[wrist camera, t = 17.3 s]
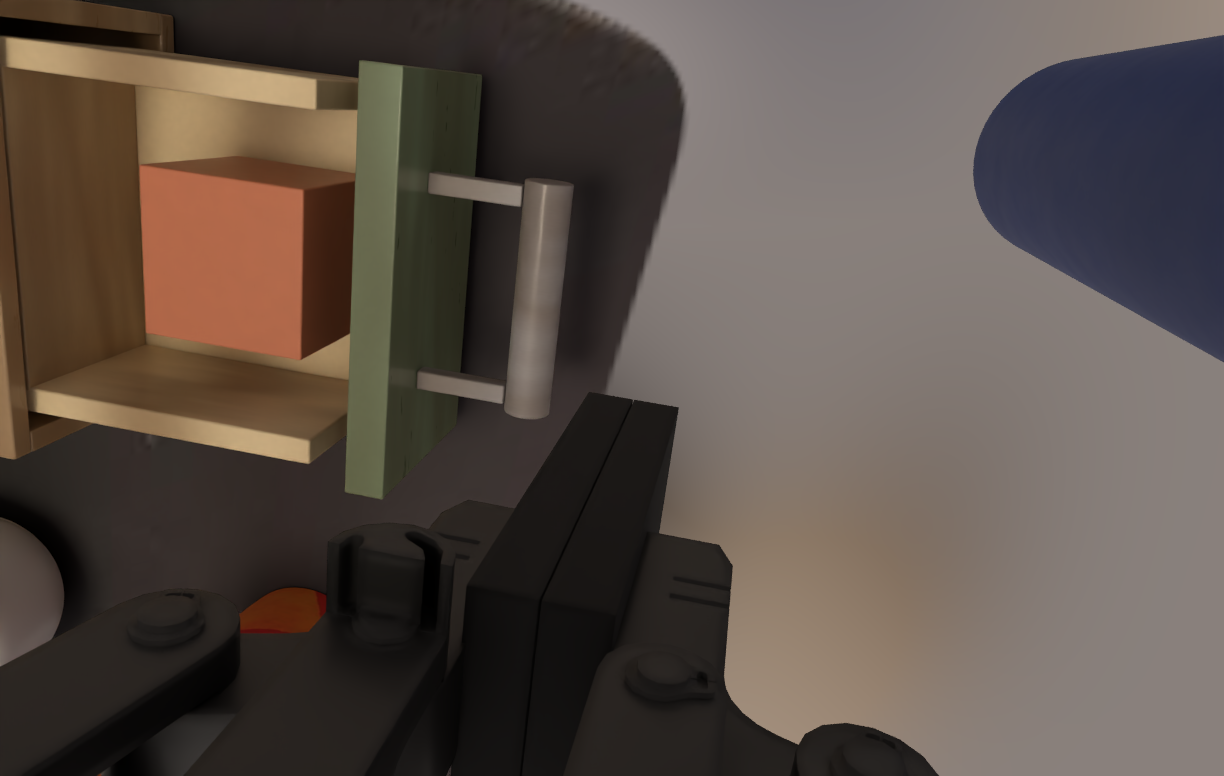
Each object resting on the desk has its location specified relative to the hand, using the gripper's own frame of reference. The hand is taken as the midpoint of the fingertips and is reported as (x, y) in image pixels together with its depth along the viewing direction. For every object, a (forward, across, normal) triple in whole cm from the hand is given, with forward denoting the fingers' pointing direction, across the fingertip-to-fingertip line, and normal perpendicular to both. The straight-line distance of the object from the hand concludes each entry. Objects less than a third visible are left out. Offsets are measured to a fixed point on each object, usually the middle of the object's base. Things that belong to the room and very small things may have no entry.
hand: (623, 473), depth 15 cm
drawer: (+16, -12, 0) cm, 20 cm away
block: (+14, -13, 0) cm, 20 cm away
